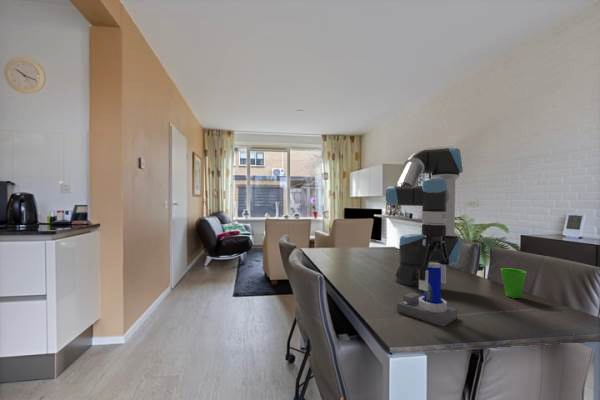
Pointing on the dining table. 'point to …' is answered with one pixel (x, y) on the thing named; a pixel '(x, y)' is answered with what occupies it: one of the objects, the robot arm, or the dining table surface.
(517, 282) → the cup
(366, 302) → the dining table surface
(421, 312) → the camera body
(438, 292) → the beverage can
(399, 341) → the dining table surface
